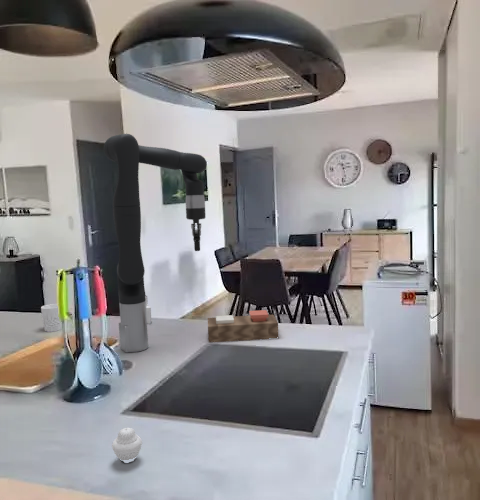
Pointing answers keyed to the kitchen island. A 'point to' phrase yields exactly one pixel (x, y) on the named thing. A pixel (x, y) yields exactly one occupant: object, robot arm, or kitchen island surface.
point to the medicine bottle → (148, 312)
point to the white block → (224, 319)
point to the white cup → (50, 317)
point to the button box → (242, 329)
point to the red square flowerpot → (258, 315)
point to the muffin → (127, 444)
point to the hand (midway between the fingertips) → (197, 250)
